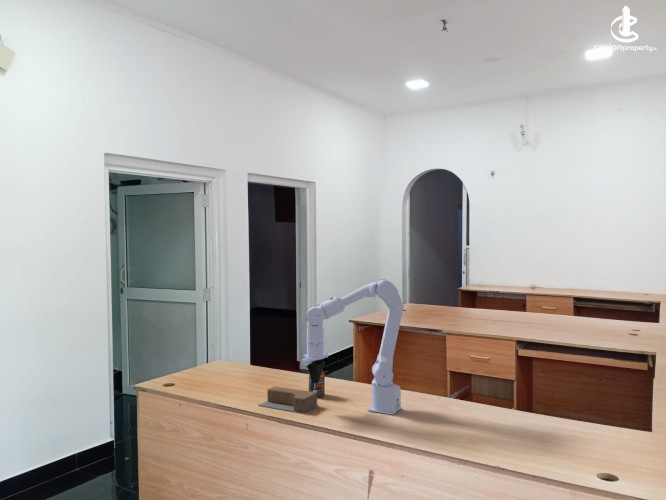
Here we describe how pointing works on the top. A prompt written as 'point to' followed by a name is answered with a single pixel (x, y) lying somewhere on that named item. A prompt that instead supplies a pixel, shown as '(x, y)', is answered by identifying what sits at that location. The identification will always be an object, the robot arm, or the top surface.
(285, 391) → the wooden block
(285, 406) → the mat
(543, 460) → the top surface
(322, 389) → the supplement bottle
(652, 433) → the top surface
